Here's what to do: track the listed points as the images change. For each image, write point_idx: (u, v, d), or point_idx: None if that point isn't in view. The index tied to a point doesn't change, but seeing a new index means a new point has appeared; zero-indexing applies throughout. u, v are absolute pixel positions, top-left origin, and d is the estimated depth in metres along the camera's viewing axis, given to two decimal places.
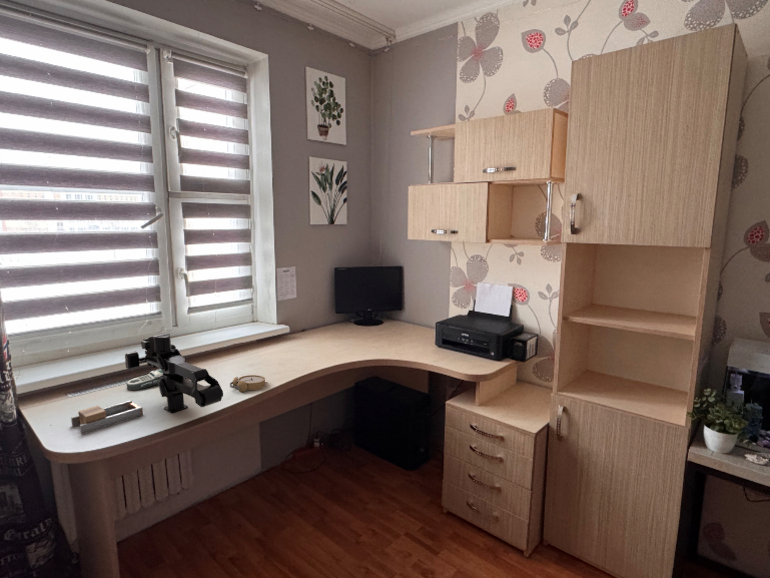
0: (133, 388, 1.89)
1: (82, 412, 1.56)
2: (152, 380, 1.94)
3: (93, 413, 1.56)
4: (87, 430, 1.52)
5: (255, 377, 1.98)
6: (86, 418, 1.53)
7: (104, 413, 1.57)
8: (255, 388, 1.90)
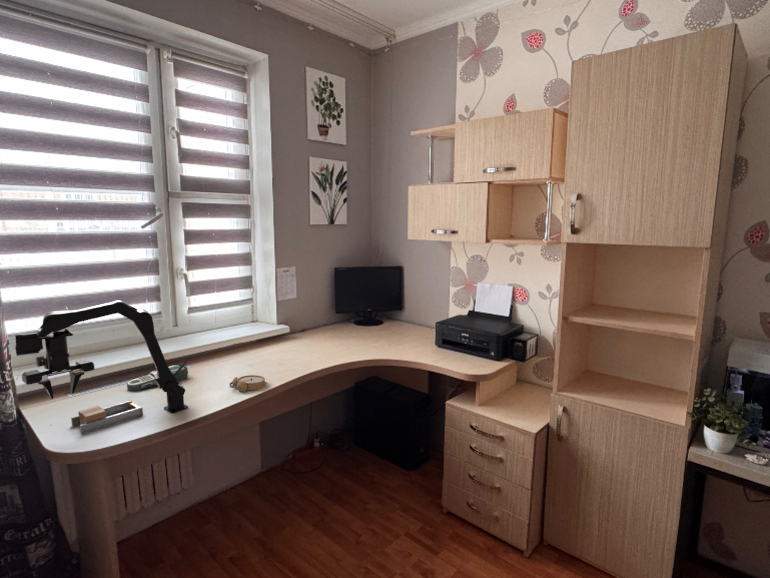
0: (134, 389, 1.89)
1: (82, 412, 1.56)
2: (153, 380, 1.93)
3: (93, 413, 1.56)
4: (87, 430, 1.52)
5: (255, 377, 1.98)
6: (86, 418, 1.53)
7: (104, 413, 1.57)
8: (255, 388, 1.90)
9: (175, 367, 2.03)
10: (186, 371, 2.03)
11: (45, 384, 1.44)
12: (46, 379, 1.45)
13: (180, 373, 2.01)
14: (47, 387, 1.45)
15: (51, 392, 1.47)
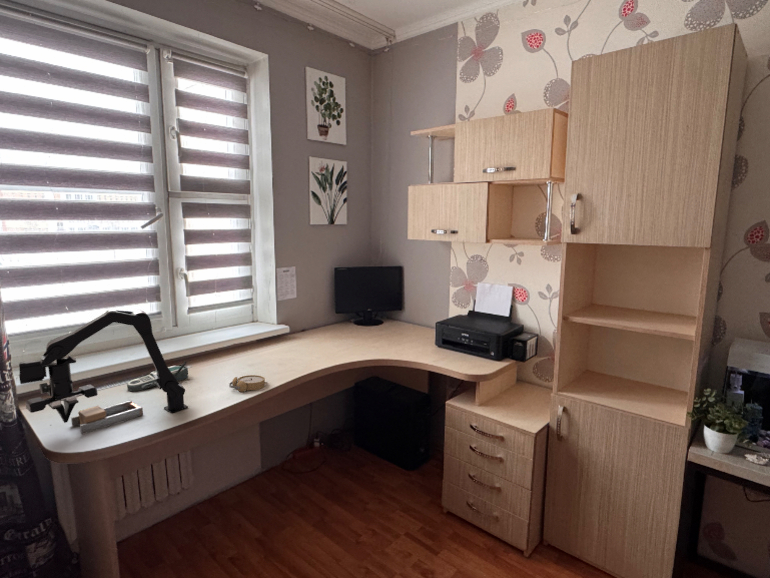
0: (134, 389, 1.88)
1: (82, 412, 1.56)
2: (153, 381, 1.93)
3: (93, 413, 1.56)
4: (87, 430, 1.52)
5: (255, 377, 1.98)
6: (86, 418, 1.53)
7: (104, 413, 1.57)
8: (255, 388, 1.90)
9: (175, 367, 2.03)
10: (186, 371, 2.02)
11: (58, 409, 1.47)
12: (59, 404, 1.48)
13: (180, 373, 2.01)
14: (60, 411, 1.48)
15: (64, 416, 1.50)
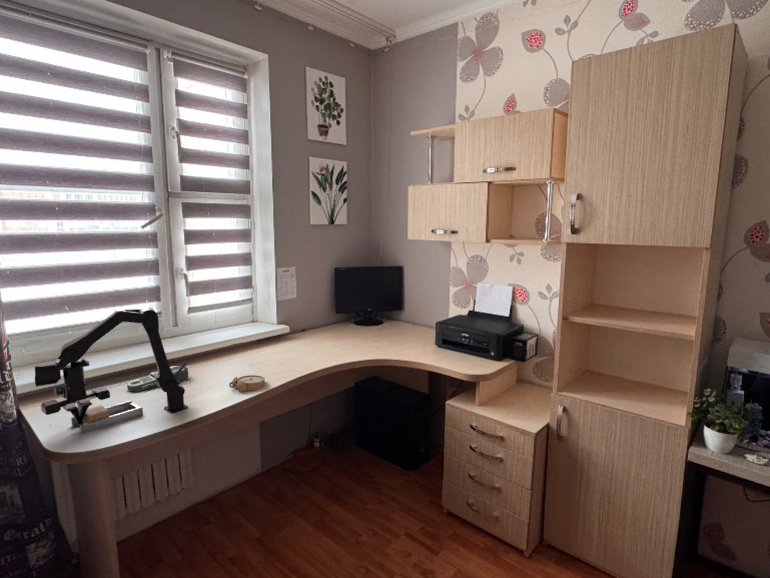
0: (134, 390, 1.88)
1: None
2: (153, 381, 1.92)
3: (96, 412, 1.56)
4: (87, 430, 1.52)
5: (255, 377, 1.98)
6: (89, 417, 1.54)
7: (106, 412, 1.58)
8: (254, 388, 1.90)
9: (175, 368, 2.02)
10: (186, 372, 2.02)
11: (73, 411, 1.51)
12: (74, 406, 1.51)
13: (180, 374, 2.00)
14: (75, 413, 1.51)
15: (78, 418, 1.53)
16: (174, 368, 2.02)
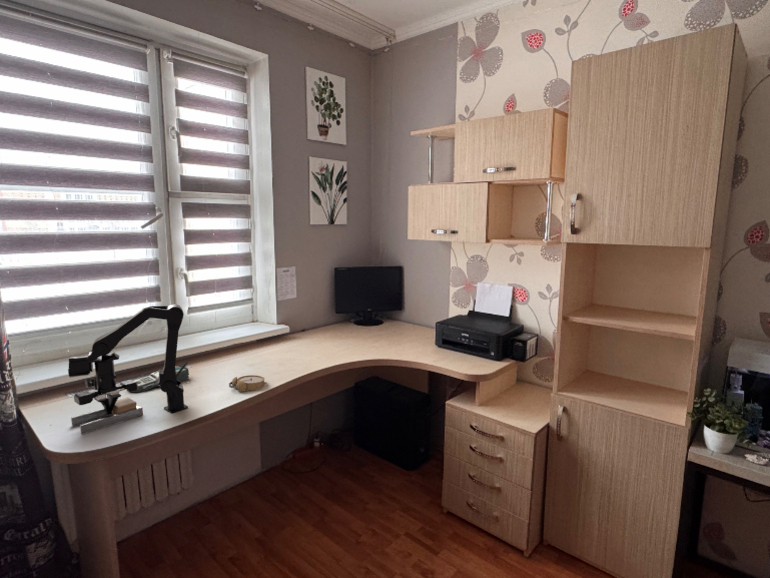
0: None
1: None
2: (154, 382, 1.92)
3: (124, 404, 1.63)
4: (87, 430, 1.52)
5: (254, 377, 1.98)
6: (118, 408, 1.61)
7: (134, 403, 1.65)
8: (254, 388, 1.90)
9: (176, 368, 2.02)
10: (187, 372, 2.02)
11: (104, 402, 1.58)
12: (104, 397, 1.58)
13: (181, 374, 2.00)
14: (105, 404, 1.59)
15: (108, 408, 1.60)
16: None
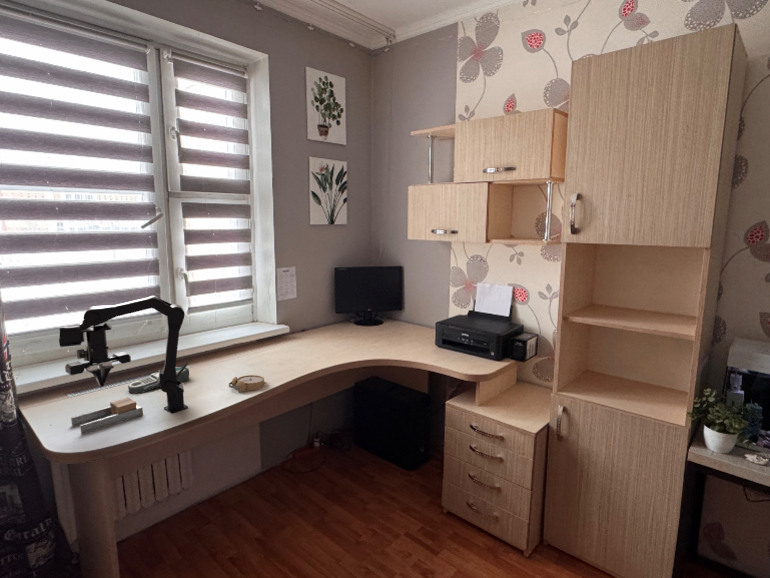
0: (136, 391, 1.86)
1: (114, 403, 1.64)
2: (154, 382, 1.91)
3: (124, 404, 1.63)
4: (87, 430, 1.52)
5: (254, 377, 1.98)
6: (118, 408, 1.61)
7: (134, 403, 1.65)
8: (254, 388, 1.90)
9: (176, 369, 2.01)
10: (187, 372, 2.01)
11: (96, 373, 1.55)
12: (96, 368, 1.56)
13: (182, 374, 1.99)
14: (97, 375, 1.56)
15: (100, 380, 1.58)
16: None
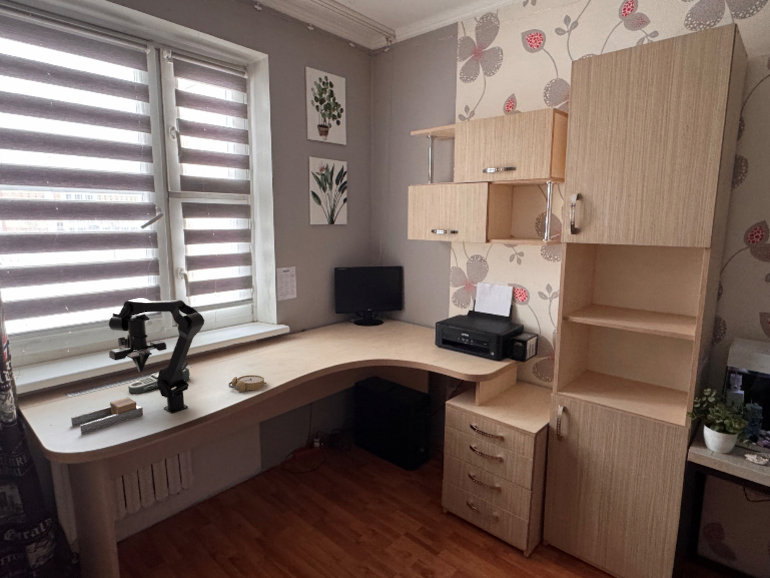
0: (136, 391, 1.86)
1: (114, 403, 1.64)
2: (155, 383, 1.91)
3: (124, 404, 1.63)
4: (87, 430, 1.52)
5: (254, 377, 1.98)
6: (118, 408, 1.61)
7: (134, 403, 1.65)
8: (254, 388, 1.90)
9: None
10: (188, 373, 2.01)
11: (136, 358, 1.70)
12: (137, 354, 1.71)
13: None
14: (137, 361, 1.71)
15: (140, 365, 1.73)
16: None
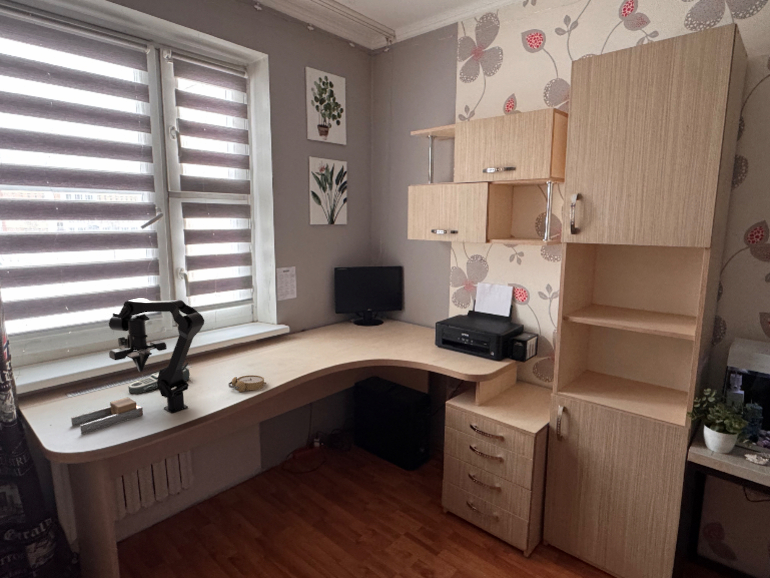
0: (136, 391, 1.86)
1: (114, 403, 1.64)
2: (155, 383, 1.90)
3: (124, 404, 1.63)
4: (87, 430, 1.52)
5: (254, 377, 1.98)
6: (118, 408, 1.61)
7: (134, 403, 1.65)
8: (254, 388, 1.90)
9: None
10: (188, 373, 2.01)
11: (136, 358, 1.70)
12: (137, 354, 1.71)
13: None
14: (137, 361, 1.71)
15: (140, 365, 1.73)
16: None
